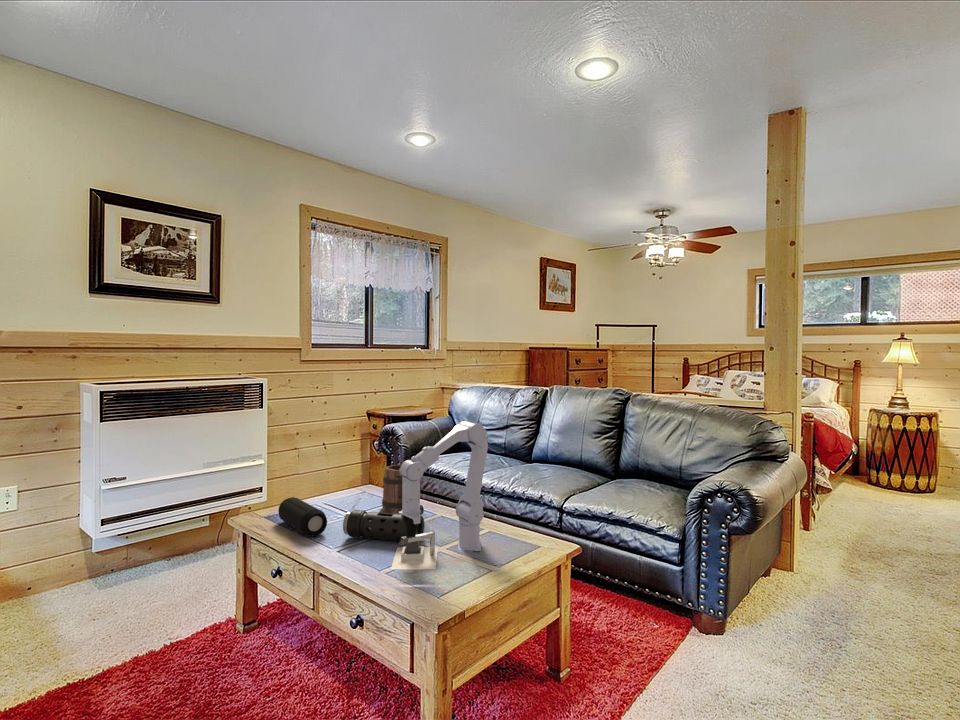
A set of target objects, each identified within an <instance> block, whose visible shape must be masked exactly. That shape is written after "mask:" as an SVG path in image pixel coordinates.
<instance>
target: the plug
mask: <svg viewBox="0 0 960 720" xmlns="http://www.w3.org/2000/svg"><path fill="white" fill-rule="evenodd" d="M398 545H400V546H401V545H402V546H403V544H402V543H401V541H398ZM404 546H405V547H406V554H419V546H420V542H419V541H414V542H409V543H408V544H404Z"/></svg>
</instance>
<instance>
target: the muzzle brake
mask: <svg viewBox="0 0 960 720" xmlns="http://www.w3.org/2000/svg"><path fill="white" fill-rule="evenodd" d="M379 512H380V511H379ZM379 512H376V511H369V512H367V511H366V510H363V509H362V510H361V509H354V510H351V511H347V512H346V514H345V516H344V517H343V521H342V532H343V533H344V535H346V536H349V537H350V538H359V539H360V538H363V539H369V540H370V539H371V540H372V539H373V540H374V539H376V540H386V541H393V542H394V541H395V542H401V537H404V536H406V537H407V533H406V528H405V525H404V522H403V520H402V517H405V516H404V515H399V514H392V513H379ZM424 531H425V520H424V517H423V516H422V515H420V523H418V526H417V529H416V533H415V535H418V534H423V533H425V532H424ZM420 542H421V540H419V543H420Z"/></svg>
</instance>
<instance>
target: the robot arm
mask: <svg viewBox="0 0 960 720" xmlns="http://www.w3.org/2000/svg"><path fill="white" fill-rule="evenodd" d="M487 433H488V431H487V430H486V428H485V427H484V426H483V425H482V424H481V423H475V422H471V421H468V420H462V421H460V422H458V424H456V425H454V427H453V428H452V430H451V431H450V432H448V433H447V434H446V435H445V436H444V437H442V438H441V439H440V440H439V441H438V442H437V443H435V445H433V446H430V445H427V446H424V447H423V448H422V449H421V451H419V453H417V454H416V455H413V456H411V457H410V459H407V460H405V461H403V462H402V464H400V465H401V468H400V469H399V472H400V474H401V475H402V511H399V515H404V516H405V517H402V520H403V522H404V525H405V528H406V533H407V537H408V536H413V535H415V533H416V529H417V526H418V523H420V516H421V515H420V505H421V487H420V486H421V479H422V478H423V475H424V473H425V472H426V470H427V469H429V468H430V467H431V466H432V465H433V464H435V463H436V462H438V461H439V459H440V458H439V457H440V454H442V453H444V452H445V451H447V450H448V449H450V448H451V447H453V446H454V445H455V444H457V443H460V442H461V443H462V442H463V443H465V442H466V443H467V445H468V446H469V447H470V449H471V453H470V459H469V465H468V471H467V476H466V481H465V488H464V493H463V494H462V495H461V496H459V499H458V500H459V501H458V502H457V504H456V506H455V514H456V516H458V521H459V523H458V525H459V526H458V540H457V551H472V552H481V551H482V546H481V545H482V544H481V540H480V539H481V538H480V536H481V535H480V531H481V529H480V528H481V522H482V520H483V519H484V515H485V513H484V502H483V500H482V498H481V490H482V486H483V485H482V484H483V479H484V472H485V468H486V460H487V455H488V449H489V444H488V440H487Z"/></svg>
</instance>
